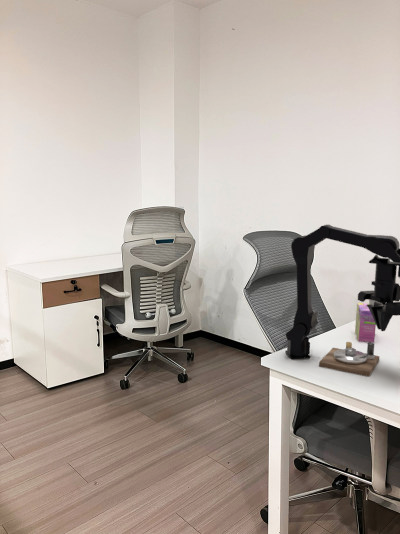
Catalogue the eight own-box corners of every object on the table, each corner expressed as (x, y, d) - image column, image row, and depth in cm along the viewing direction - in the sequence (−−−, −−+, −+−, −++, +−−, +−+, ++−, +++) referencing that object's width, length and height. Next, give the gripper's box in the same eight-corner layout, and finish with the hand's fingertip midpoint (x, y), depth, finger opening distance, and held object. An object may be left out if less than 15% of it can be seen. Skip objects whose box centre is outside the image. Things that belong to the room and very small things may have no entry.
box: (374, 342, 168) (377, 310, 166) (358, 341, 169) (360, 310, 167) (370, 333, 178) (372, 303, 176) (354, 332, 179) (356, 302, 177)
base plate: (368, 376, 139) (370, 362, 138) (319, 366, 146) (319, 352, 146) (379, 360, 151) (380, 347, 150) (332, 351, 159) (333, 339, 158)
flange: (340, 364, 143) (341, 349, 142) (329, 352, 153) (330, 338, 152) (379, 363, 144) (381, 349, 143) (366, 352, 154) (367, 338, 153)
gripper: (431, 284, 131) (426, 338, 133) (389, 272, 148) (386, 319, 151) (396, 286, 128) (391, 341, 131) (358, 273, 146) (355, 321, 149)
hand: (381, 330), depth 140 cm, fingers closed
